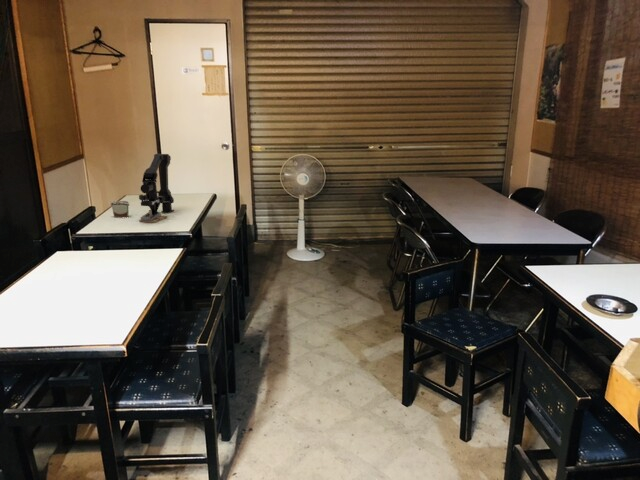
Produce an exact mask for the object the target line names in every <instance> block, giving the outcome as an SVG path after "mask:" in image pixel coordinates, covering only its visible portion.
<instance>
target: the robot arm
mask: <svg viewBox="0 0 640 480" xmlns="http://www.w3.org/2000/svg"><path fill="white" fill-rule="evenodd" d="M171 158H172V157H171V155H169V153H155V154H154V155H153V159H152V162H151V164H150V166H149V167H148V168H146V169H145V171H144V172H143V174H142V175H143V176H142V181H141V182H142V185H140V191H141V192H142V194H140V195H138V199H139V201H141V202H140V206H141V207H142V206H143V207H149V210H151V211H152V213H153V214H155V212H158V211H159V209H160V205H161V207H162V210H161V211H160V213H171V212H174V209H172V204H173V203H174V202H175V200H174V199H175V198H174V197H173V196H172V193H171V190H170V189H169V166H170V165H171V160H172V159H171ZM159 167H160V189H159V190H157V179H158V170H159Z"/></svg>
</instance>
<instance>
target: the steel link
mask: <svg viewBox="0 0 640 480" xmlns="http://www.w3.org/2000/svg"><path fill="white" fill-rule="evenodd" d="M152 215H153V216H152V217H149V211H148V212H146V213H145V214H143V215H141V216H140V220H145V221H153V220H154V219H156V218H157V217H159V216H162V212H161V211H157V212H155V214H153V213H152Z"/></svg>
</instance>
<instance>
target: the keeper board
mask: <svg viewBox="0 0 640 480" xmlns="http://www.w3.org/2000/svg"><path fill="white" fill-rule="evenodd" d="M148 212H149V217H152V216H153V215H152V211H151V209H149V210H148ZM165 219H167V216H166V215H160V216H159V217H157V218H156V219H154V220H153V221H145V220H141V219H139V220H138V222H139V223H147V224H149V223H150V224H155V223H157V222H158V223H159V222H160V221H163V220H165Z"/></svg>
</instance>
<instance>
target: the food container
mask: <svg viewBox="0 0 640 480" xmlns="http://www.w3.org/2000/svg"><path fill="white" fill-rule="evenodd" d="M110 206H111V209H112V214H113V217H114V218H122V217H124V218H125V217H126V218H127V217H128V218H129V216H130V215H129V206H130V203H129V201H126V200H118V201H117V200H115V201H113V202H110Z"/></svg>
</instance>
